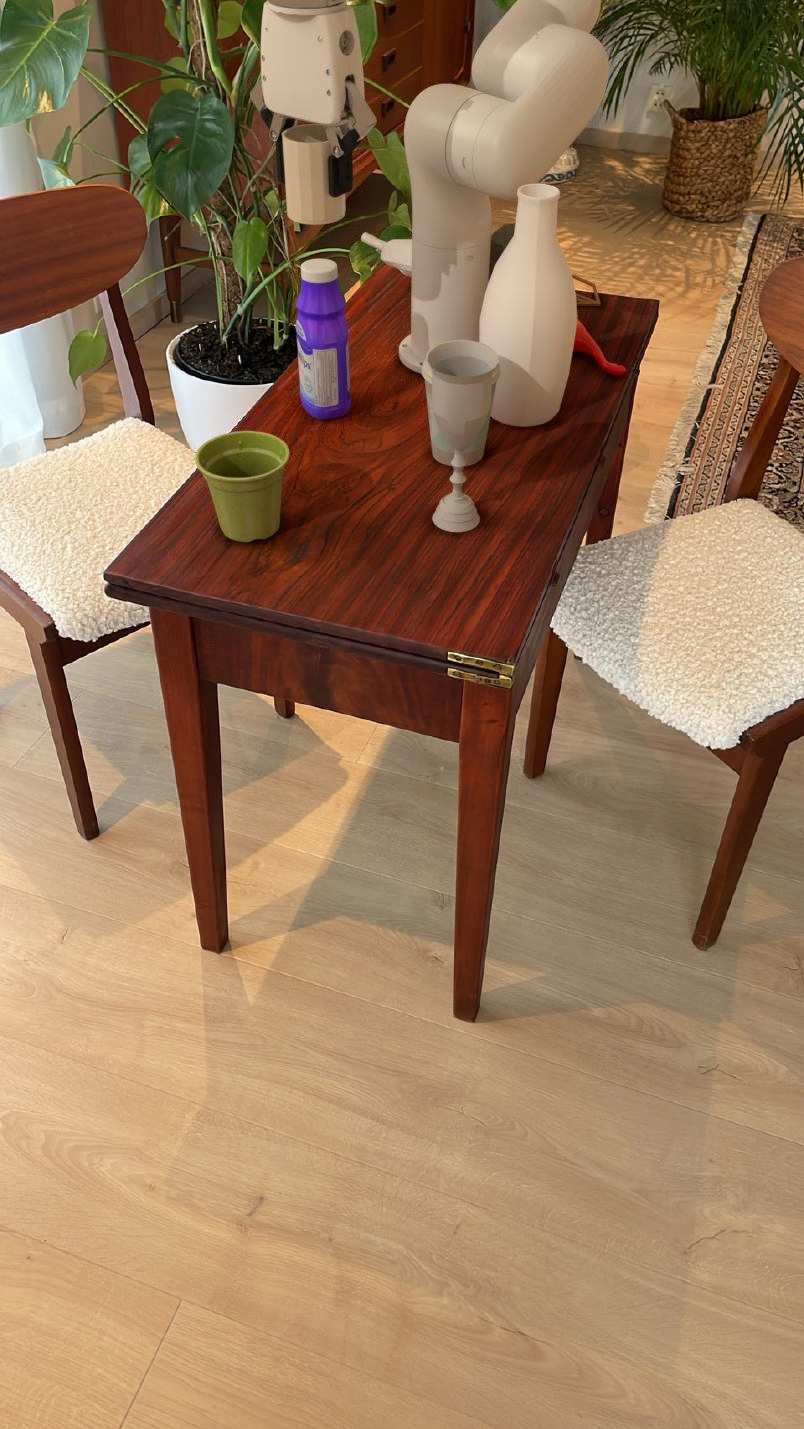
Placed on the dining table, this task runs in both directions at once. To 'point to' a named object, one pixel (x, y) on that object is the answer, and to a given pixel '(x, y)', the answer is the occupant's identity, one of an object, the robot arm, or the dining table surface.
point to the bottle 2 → (531, 314)
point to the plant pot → (245, 482)
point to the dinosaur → (594, 350)
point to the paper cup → (309, 176)
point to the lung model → (393, 252)
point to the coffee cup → (438, 442)
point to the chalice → (460, 418)
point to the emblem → (584, 300)
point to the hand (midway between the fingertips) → (315, 184)
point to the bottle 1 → (322, 342)
